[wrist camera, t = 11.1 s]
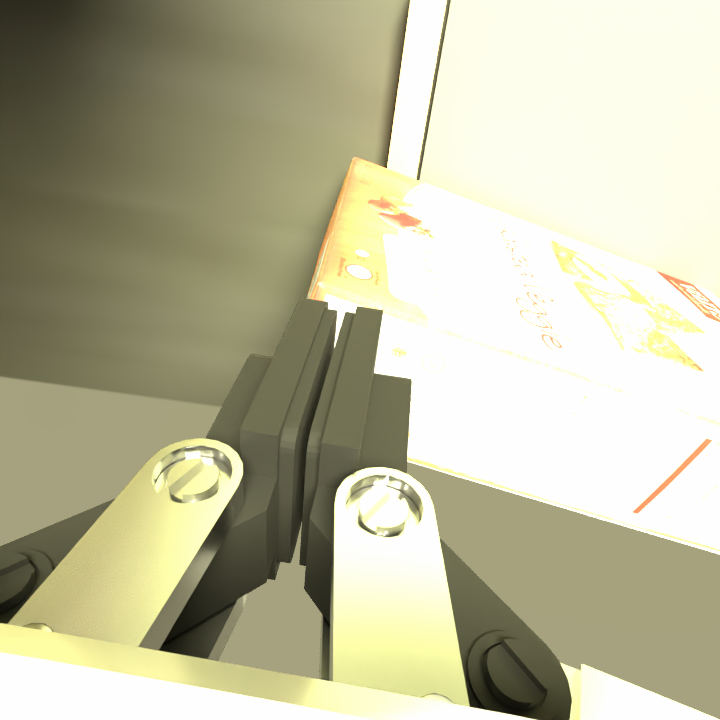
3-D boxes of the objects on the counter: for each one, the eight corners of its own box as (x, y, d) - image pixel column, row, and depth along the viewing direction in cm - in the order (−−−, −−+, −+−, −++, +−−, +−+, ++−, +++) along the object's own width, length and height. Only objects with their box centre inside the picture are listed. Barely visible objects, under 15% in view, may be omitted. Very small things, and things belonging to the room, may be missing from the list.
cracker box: (353, 145, 25) (714, 287, 29) (316, 254, 29) (643, 370, 32) (320, 269, 14) (931, 484, 17) (265, 427, 17) (785, 582, 20)
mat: (426, -105, 21) (426, -112, 20) (1053, -23, 20) (1096, -25, 19) (367, 318, 33) (364, 331, 31) (769, 382, 32) (783, 399, 31)
